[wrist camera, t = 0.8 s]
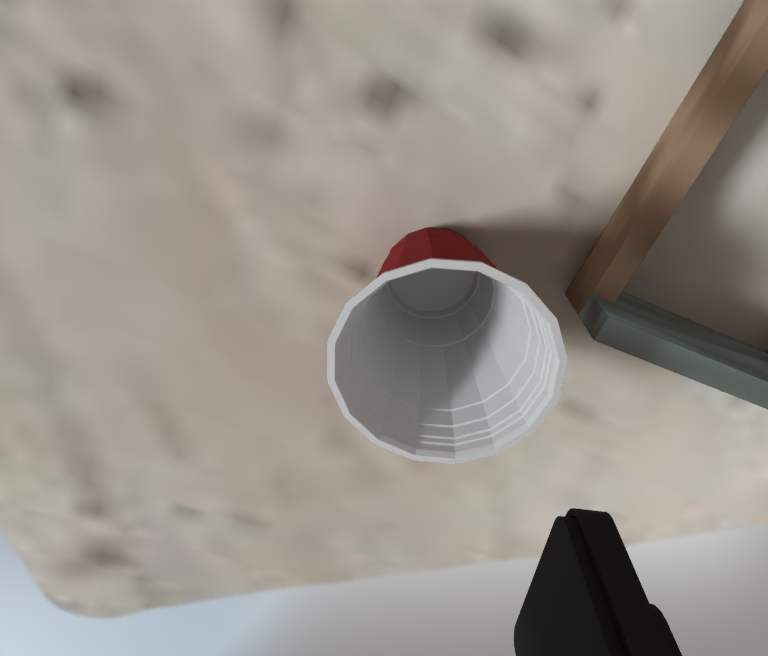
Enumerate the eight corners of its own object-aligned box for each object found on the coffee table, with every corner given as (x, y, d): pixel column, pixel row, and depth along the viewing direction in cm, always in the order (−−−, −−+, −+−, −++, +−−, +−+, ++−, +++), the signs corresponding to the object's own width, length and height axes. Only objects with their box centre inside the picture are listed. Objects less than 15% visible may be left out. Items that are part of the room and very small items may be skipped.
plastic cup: (324, 199, 36) (300, 281, 26) (511, 170, 36) (565, 244, 25) (356, 358, 41) (346, 482, 31) (520, 336, 41) (569, 456, 30)
